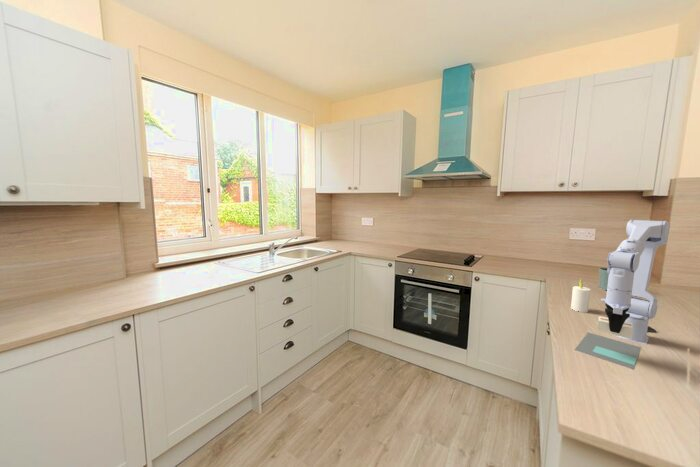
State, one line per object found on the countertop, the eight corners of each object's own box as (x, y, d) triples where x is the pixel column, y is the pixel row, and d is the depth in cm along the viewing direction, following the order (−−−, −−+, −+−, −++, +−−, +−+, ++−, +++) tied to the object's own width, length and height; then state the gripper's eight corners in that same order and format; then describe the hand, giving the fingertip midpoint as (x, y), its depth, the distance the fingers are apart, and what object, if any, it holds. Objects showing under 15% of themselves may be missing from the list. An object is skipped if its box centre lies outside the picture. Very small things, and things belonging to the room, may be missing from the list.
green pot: (623, 293, 152) (625, 272, 151) (599, 290, 157) (601, 270, 156) (618, 288, 160) (620, 268, 159) (595, 285, 166) (597, 266, 164)
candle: (592, 312, 126) (595, 280, 124) (580, 312, 125) (583, 281, 123) (578, 306, 132) (582, 276, 130) (567, 307, 131) (570, 277, 129)
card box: (630, 333, 88) (632, 322, 88) (631, 338, 85) (633, 327, 84) (597, 325, 94) (598, 315, 93) (597, 330, 90) (598, 320, 90)
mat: (587, 333, 104) (588, 332, 104) (640, 349, 94) (641, 347, 94) (574, 351, 92) (574, 349, 92) (633, 371, 81) (633, 369, 81)
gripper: (602, 281, 95) (598, 318, 97) (602, 291, 85) (597, 332, 86) (631, 286, 91) (626, 324, 92) (634, 296, 80) (628, 340, 82)
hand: (614, 329), depth 89 cm, fingers closed on card box, 5 cm apart
